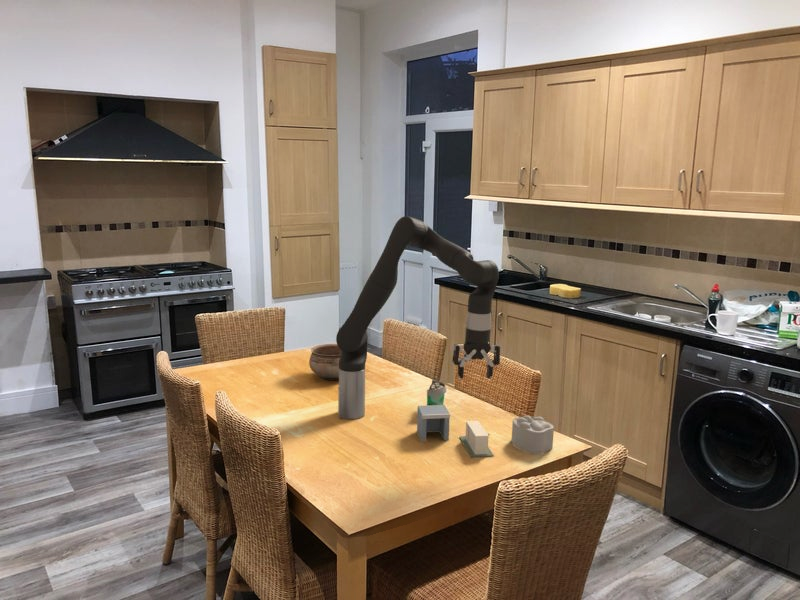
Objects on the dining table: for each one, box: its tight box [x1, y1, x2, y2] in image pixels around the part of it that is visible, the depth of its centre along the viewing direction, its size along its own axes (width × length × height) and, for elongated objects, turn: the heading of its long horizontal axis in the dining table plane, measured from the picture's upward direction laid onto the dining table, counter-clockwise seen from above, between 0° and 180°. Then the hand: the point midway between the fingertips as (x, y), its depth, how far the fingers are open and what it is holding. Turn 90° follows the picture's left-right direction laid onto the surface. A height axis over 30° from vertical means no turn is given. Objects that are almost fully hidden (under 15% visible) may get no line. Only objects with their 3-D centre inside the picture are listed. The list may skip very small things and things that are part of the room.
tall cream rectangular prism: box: [465, 420, 489, 455], centre depth 201 cm, size 4×12×6 cm, turn 8°
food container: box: [426, 379, 447, 405], centre depth 230 cm, size 12×6×10 cm, turn 168°
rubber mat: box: [459, 435, 495, 459], centre depth 202 cm, size 7×15×1 cm, turn 9°
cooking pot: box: [308, 343, 342, 381], centre depth 265 cm, size 25×19×12 cm
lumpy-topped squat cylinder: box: [511, 415, 555, 455], centre depth 203 cm, size 10×13×9 cm
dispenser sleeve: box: [416, 404, 451, 442], centre depth 208 cm, size 9×9×9 cm
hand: (474, 377), depth 195 cm, fingers open, 8 cm apart
